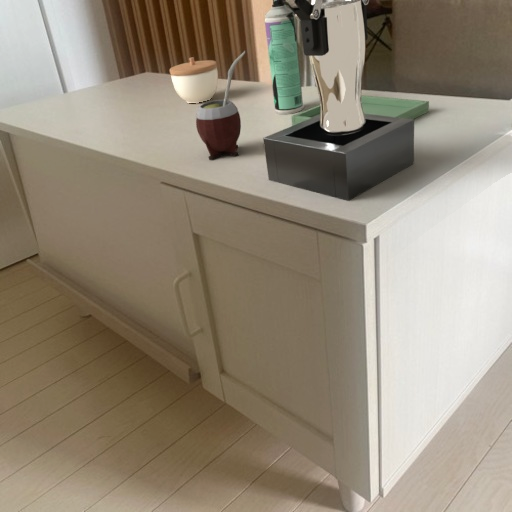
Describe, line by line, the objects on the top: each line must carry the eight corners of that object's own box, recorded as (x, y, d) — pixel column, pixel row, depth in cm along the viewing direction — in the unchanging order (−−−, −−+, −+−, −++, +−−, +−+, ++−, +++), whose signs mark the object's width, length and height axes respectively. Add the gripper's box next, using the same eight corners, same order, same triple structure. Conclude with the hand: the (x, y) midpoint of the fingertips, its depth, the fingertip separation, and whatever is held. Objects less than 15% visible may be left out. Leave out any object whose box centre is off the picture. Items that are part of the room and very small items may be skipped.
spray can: (305, 105, 107) (295, -6, 98) (300, 113, 103) (290, -3, 93) (278, 107, 109) (265, -2, 99) (272, 115, 104) (259, 1, 94)
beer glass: (333, 140, 67) (322, 9, 60) (306, 129, 73) (293, 9, 65) (380, 126, 69) (374, -2, 62) (350, 116, 75) (342, -2, 67)
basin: (414, 163, 73) (414, 119, 70) (348, 200, 65) (345, 153, 62) (333, 148, 82) (331, 109, 79) (268, 179, 75) (262, 137, 72)
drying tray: (428, 111, 92) (429, 101, 91) (373, 138, 84) (373, 127, 83) (347, 103, 104) (347, 93, 103) (292, 126, 96) (291, 116, 95)
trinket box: (179, 109, 119) (170, 65, 114) (174, 99, 128) (165, 58, 124) (226, 100, 120) (219, 56, 116) (218, 91, 130) (211, 50, 125)
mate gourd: (193, 158, 88) (174, 62, 80) (227, 142, 92) (212, 51, 85) (226, 163, 83) (208, 62, 76) (259, 147, 88) (246, 50, 80)
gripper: (291, -133, 50) (311, 65, 59) (400, -139, 59) (403, 32, 68) (239, -116, 55) (264, 64, 64) (346, -124, 65) (356, 33, 73)
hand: (336, 46), depth 66 cm, fingers closed on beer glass, 7 cm apart
